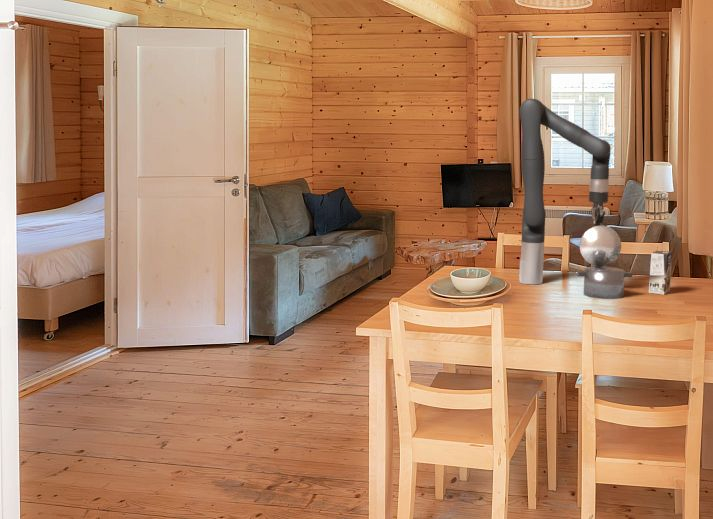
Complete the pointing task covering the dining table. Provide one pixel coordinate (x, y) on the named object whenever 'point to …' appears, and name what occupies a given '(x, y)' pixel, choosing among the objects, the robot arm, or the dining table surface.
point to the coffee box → (660, 272)
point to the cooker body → (603, 282)
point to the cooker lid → (600, 245)
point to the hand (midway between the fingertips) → (596, 233)
